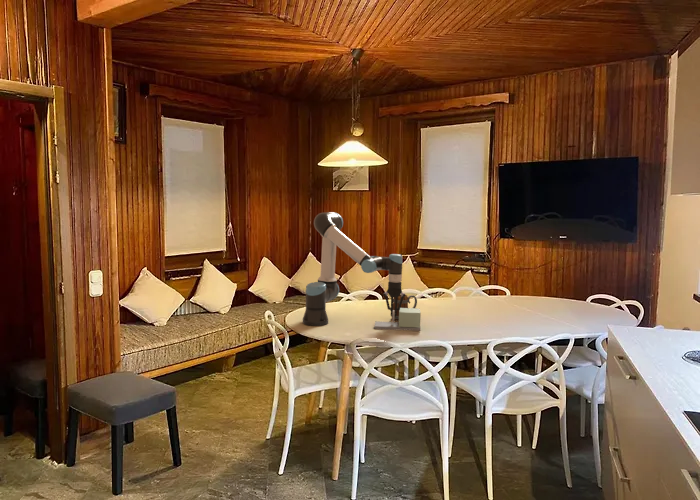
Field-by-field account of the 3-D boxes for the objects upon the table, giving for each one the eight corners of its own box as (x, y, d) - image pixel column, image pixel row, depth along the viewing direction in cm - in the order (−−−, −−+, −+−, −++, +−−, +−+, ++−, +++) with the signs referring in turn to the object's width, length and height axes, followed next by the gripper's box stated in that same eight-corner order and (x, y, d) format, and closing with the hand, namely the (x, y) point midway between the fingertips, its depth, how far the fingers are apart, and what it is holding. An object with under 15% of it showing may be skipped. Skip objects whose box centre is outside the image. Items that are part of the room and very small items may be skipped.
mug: (394, 321, 330) (394, 297, 328) (389, 317, 340) (390, 293, 339) (418, 320, 333) (419, 296, 331) (413, 317, 343) (414, 293, 342)
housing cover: (398, 326, 310) (399, 312, 310) (398, 321, 322) (399, 307, 321) (420, 327, 309) (420, 313, 308) (419, 322, 321) (419, 308, 320)
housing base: (374, 328, 312) (374, 317, 311) (375, 323, 324) (375, 312, 323) (420, 330, 310) (420, 319, 309) (419, 325, 321) (420, 314, 321)
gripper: (383, 281, 311) (382, 322, 313) (406, 282, 310) (404, 323, 312) (384, 279, 318) (382, 319, 321) (405, 280, 317) (404, 320, 320)
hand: (393, 321), depth 316 cm, fingers closed
